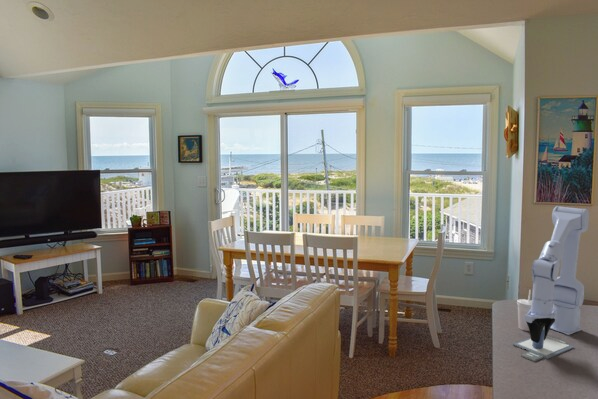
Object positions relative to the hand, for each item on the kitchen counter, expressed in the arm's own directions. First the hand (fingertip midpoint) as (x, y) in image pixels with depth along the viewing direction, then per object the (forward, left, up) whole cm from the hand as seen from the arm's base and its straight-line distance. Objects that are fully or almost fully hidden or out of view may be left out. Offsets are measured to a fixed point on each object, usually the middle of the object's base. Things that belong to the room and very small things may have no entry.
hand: (538, 340), depth 142 cm
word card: (+7, +2, -3) cm, 8 cm away
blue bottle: (0, 0, -2) cm, 2 cm away
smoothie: (-13, -12, -3) cm, 18 cm away
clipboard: (-4, 0, -3) cm, 5 cm away
